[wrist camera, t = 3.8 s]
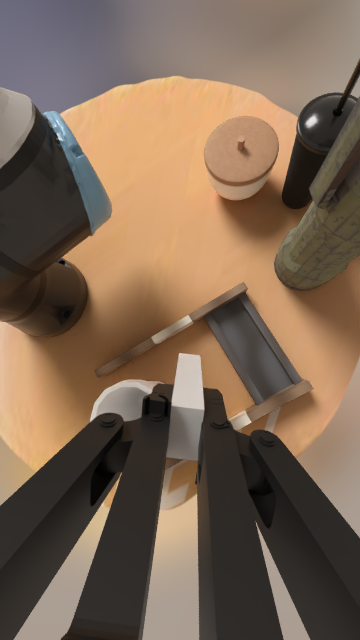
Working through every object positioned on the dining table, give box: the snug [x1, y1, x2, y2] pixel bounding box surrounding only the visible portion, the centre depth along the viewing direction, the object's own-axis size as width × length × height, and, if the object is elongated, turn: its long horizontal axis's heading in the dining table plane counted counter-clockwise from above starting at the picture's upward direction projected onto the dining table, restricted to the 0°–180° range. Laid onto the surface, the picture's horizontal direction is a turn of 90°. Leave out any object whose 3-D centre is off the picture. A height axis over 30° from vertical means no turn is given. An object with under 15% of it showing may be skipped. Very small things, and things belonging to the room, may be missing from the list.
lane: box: [95, 282, 314, 469], centre depth 39 cm, size 28×18×3 cm, turn 120°
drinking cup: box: [282, 60, 360, 209], centre depth 32 cm, size 8×8×20 cm
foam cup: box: [90, 379, 165, 422], centre depth 35 cm, size 10×9×13 cm
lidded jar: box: [204, 116, 279, 200], centre depth 39 cm, size 11×11×9 cm
